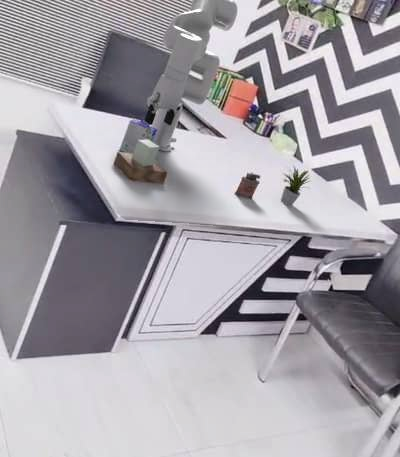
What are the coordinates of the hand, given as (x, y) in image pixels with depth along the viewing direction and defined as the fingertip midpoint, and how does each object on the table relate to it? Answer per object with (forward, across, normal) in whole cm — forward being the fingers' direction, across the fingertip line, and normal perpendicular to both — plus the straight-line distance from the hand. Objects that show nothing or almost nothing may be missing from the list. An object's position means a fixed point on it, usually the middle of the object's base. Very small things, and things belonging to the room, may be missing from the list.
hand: (157, 123), depth 175 cm
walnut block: (+19, +1, +1) cm, 19 cm away
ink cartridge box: (+20, -10, -13) cm, 26 cm away
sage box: (+14, +1, 0) cm, 14 cm away
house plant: (+20, -62, +30) cm, 72 cm away
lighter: (+20, -39, +22) cm, 49 cm away
